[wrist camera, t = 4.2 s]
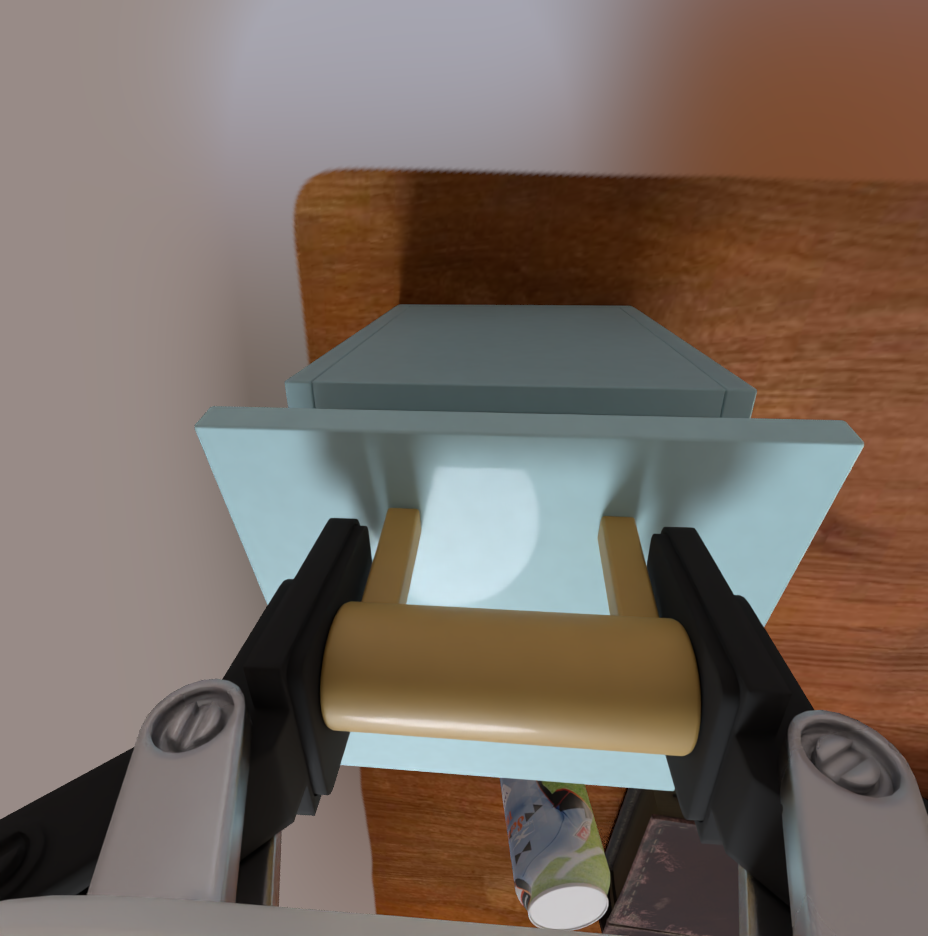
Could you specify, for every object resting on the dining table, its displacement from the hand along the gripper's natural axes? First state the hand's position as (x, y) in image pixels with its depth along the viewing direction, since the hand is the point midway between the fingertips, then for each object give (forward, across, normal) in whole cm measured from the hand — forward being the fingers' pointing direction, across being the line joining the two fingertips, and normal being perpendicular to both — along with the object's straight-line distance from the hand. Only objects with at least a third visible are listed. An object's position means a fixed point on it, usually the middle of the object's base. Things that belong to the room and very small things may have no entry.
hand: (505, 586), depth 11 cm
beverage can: (+20, -3, +31) cm, 37 cm away
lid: (+3, 0, +4) cm, 5 cm away
